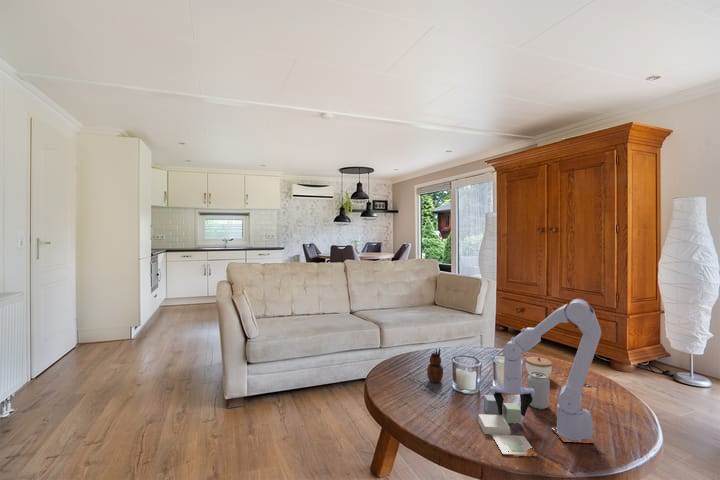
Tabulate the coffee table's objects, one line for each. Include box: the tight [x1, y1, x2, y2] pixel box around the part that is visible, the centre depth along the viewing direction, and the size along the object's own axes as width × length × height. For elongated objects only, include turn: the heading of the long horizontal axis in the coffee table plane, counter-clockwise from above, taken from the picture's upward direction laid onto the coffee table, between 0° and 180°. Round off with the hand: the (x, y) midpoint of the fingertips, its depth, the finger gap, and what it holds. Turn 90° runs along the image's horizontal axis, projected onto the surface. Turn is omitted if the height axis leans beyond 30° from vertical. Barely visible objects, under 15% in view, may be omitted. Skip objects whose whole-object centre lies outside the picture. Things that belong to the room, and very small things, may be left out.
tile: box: [491, 434, 533, 455], centre depth 110 cm, size 10×10×1 cm
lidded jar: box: [525, 356, 553, 378], centre depth 164 cm, size 11×11×9 cm
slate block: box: [483, 394, 500, 415], centre depth 132 cm, size 4×4×5 cm
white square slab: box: [477, 413, 511, 436], centre depth 120 cm, size 8×8×3 cm
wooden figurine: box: [426, 347, 444, 384], centre depth 158 cm, size 7×6×15 cm
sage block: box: [502, 402, 522, 425], centre depth 125 cm, size 4×4×5 cm
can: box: [526, 372, 551, 410], centre depth 136 cm, size 8×8×12 cm
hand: (511, 414), depth 125 cm, fingers open, 7 cm apart
